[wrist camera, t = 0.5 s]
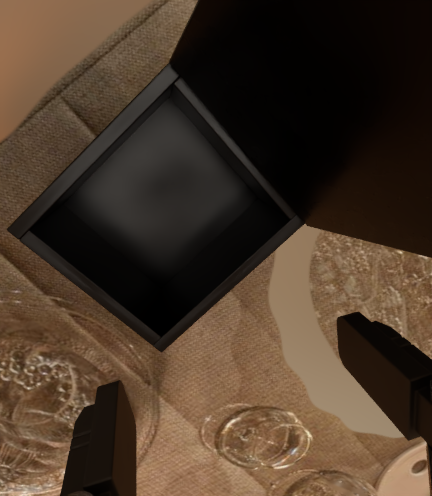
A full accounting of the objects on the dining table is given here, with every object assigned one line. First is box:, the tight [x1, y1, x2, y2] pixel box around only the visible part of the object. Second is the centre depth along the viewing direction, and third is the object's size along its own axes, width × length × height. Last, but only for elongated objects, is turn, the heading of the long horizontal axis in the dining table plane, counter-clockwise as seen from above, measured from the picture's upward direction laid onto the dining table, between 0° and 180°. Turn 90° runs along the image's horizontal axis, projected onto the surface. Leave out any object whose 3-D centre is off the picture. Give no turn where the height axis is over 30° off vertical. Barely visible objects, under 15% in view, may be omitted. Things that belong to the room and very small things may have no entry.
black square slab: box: [169, 0, 432, 258], centre depth 14 cm, size 15×13×1 cm
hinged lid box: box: [7, 62, 305, 352], centre depth 26 cm, size 14×13×9 cm
